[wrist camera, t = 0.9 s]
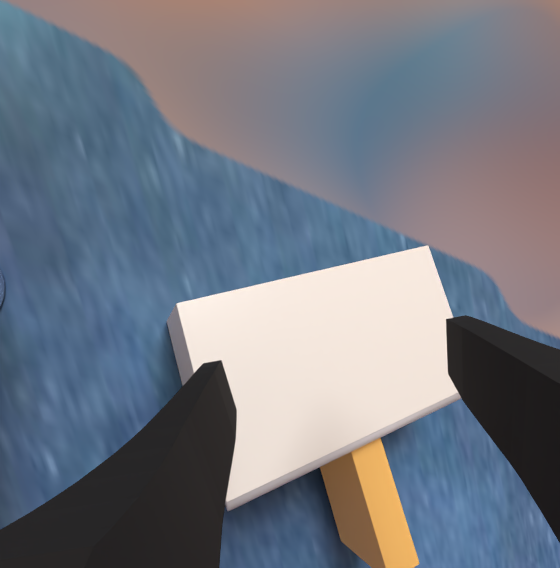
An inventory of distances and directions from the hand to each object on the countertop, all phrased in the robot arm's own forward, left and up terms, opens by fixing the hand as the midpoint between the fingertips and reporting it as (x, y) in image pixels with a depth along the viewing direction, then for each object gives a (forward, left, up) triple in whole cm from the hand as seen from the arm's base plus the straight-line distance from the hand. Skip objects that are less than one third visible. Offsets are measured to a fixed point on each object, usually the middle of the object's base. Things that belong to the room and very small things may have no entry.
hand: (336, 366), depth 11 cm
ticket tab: (-5, -5, -13) cm, 15 cm away
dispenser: (0, -5, -14) cm, 14 cm away
